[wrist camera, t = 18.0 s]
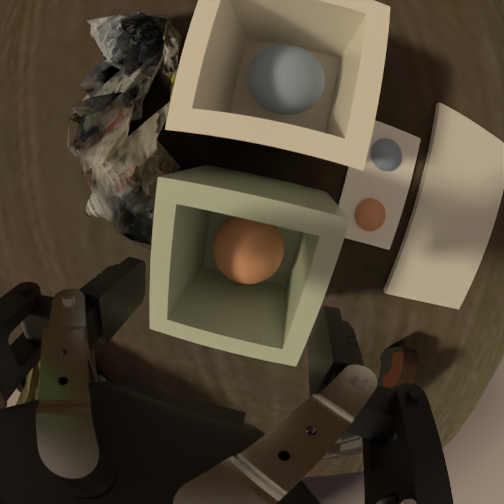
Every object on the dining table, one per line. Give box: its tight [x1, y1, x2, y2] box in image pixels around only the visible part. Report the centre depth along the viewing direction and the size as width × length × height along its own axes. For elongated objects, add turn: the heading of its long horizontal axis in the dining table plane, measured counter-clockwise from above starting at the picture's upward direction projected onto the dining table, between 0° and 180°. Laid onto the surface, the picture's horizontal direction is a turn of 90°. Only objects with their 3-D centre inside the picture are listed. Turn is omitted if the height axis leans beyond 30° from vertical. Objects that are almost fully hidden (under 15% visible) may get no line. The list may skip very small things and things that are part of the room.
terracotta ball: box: [213, 216, 284, 284], centre depth 18 cm, size 5×5×5 cm
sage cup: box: [150, 165, 350, 366], centre depth 17 cm, size 9×9×8 cm
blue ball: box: [247, 44, 325, 115], centre depth 14 cm, size 5×5×5 cm
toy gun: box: [321, 346, 419, 460], centre depth 24 cm, size 2×18×12 cm, turn 160°
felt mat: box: [383, 102, 504, 309], centre depth 17 cm, size 16×9×1 cm, turn 169°
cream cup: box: [165, 0, 390, 171], centre depth 13 cm, size 9×9×8 cm
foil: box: [68, 12, 182, 249], centre depth 15 cm, size 12×11×15 cm
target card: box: [338, 120, 421, 250], centre depth 18 cm, size 9×5×1 cm, turn 169°
